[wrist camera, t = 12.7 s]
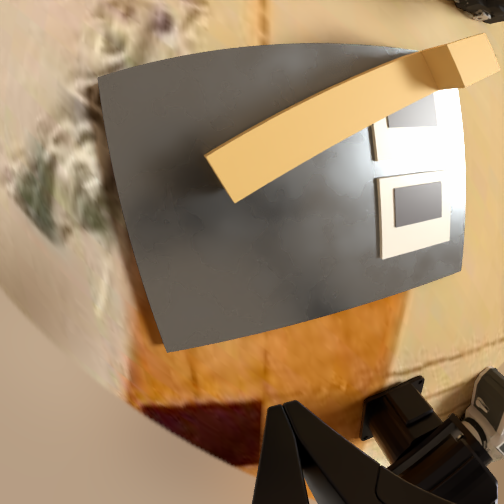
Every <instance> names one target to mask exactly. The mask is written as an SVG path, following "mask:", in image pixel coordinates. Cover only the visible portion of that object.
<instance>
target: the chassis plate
mask: <svg viewBox="0 0 504 504" xmlns="http://www.w3.org/2000/svg"><path fill="white" fill-rule="evenodd" d="M415 52H418V51H415V50H408V49H401V48H392V47H383V46H371V45H357V44H332V43H300V44H275V45H261V46H249V47H239V48H231V49H223V50H215V51H208V52H202V53H196V54H190V55H185V56H180V57H174V58H170V59H165V60H160V61H156V62H152V63H147V64H143V65H139V66H135V67H132V68H128V69H124V70H121V71H117V72H114V73H110V74H107V75H104V76H101V77H98V85H99V92H100V100H101V106H102V113H103V119H104V125H105V131H106V137H107V142H108V147H109V152H110V158H111V162H112V167H113V172H114V177H115V181H116V186H117V190H118V194H119V199H120V203H121V207H122V211H123V215H124V219H125V223H126V226H127V230H128V234H129V238H130V241H131V245H132V248H133V252H134V255H135V259H136V262H137V266H138V269H139V272H140V275H141V279H142V282H143V285H144V288H145V291H146V294H147V297H148V300H149V303H150V306H151V309H152V312H153V315H154V318H155V321H156V324H157V327H158V329H159V332H160V335H161V338H162V340H163V343H164V346H165V348H166V351H167V353H168V352H174V351H179V350H184V349H189V348H194V347H199V346H204V345H209V344H214V343H218V342H223V341H227V340H232V339H236V338H241V337H245V336H249V335H254V334H258V333H262V332H266V331H270V330H274V329H278V328H282V327H286V326H290V325H293V324H297V323H301V322H305V321H308V320H312V319H316V318H319V317H323V316H326V315H330V314H333V313H337V312H340V311H344V310H347V309H350V308H354V307H357V306H360V305H363V304H367V303H370V302H373V301H376V300H379V299H382V298H386V297H389V296H392V295H395V294H398V293H401V292H404V291H407V290H409V289H412V288H415V287H418V286H421V285H424V284H427V283H429V282H432V281H435V280H438V279H440V278H443V277H446V276H449V275H451V274H454V273H456V272H459V271H461V267H462V257H463V245H464V229H465V198H466V185H465V154H464V139H463V127H462V118H461V109H460V101H459V94H458V88H455V89H445V90H442V92H443V98H444V106H445V114H446V122H447V132H448V144H449V155H441V156H429V157H417V158H407V159H397V160H387V161H378V162H377V161H375V155H374V146H373V137H372V129H371V125H370V126H368V127H366V128H364V129H363V130H361V131H359V132H357V133H355V134H353V135H352V136H350V137H348V138H346V139H344V140H342V141H341V142H339V143H337V144H335V145H334V146H332V147H330V148H328V149H326V150H325V151H323V152H321V153H319V154H318V155H316V156H314V157H312V158H311V159H309V160H307V161H305V162H304V163H302V164H300V165H298V166H297V167H295V168H293V169H291V170H290V171H288V172H286V173H285V174H283V175H281V176H280V177H278V178H276V179H274V180H273V181H271V182H269V183H268V184H266V185H264V186H263V187H261V188H259V189H258V190H256V191H254V192H253V193H251V194H250V195H248V196H246V197H245V198H243V199H241V200H240V201H238V202H236V203H234V202H233V200H232V199H231V198H230V196H229V195H228V194H227V192H226V191H225V189H224V187H223V186H222V184H221V182H220V181H219V179H218V178H217V176H216V174H215V173H214V171H213V170H212V168H211V166H210V165H209V163H208V162H207V160H206V158H205V157H204V155H205V154H206V153H208V152H210V151H211V150H213V149H215V148H216V147H218V146H220V145H221V144H223V143H225V142H226V141H228V140H230V139H232V138H233V137H235V136H237V135H238V134H240V133H242V132H244V131H245V130H247V129H249V128H251V127H253V126H254V125H256V124H258V123H260V122H262V121H264V120H265V119H267V118H269V117H271V116H273V115H275V114H277V113H278V112H280V111H282V110H284V109H286V108H288V107H290V106H292V105H294V104H296V103H298V102H300V101H302V100H304V99H306V98H308V97H310V96H312V95H314V94H316V93H318V92H320V91H322V90H325V89H327V88H329V87H331V86H333V85H335V84H337V83H340V82H342V81H344V80H346V79H349V78H351V77H353V76H355V75H358V74H360V73H362V72H365V71H367V70H369V69H372V68H374V67H377V66H379V65H381V64H384V63H386V62H389V61H391V60H394V59H397V58H399V57H402V56H405V55H408V54H412V53H415ZM444 169H449V170H450V187H451V212H450V240H449V241H446V242H443V243H440V244H436V245H433V246H429V247H426V248H422V249H419V250H415V251H412V252H408V253H405V254H401V255H397V256H394V257H390V258H386V259H383V260H382V259H381V258H380V231H379V207H378V191H377V178H381V177H388V176H396V175H403V174H411V173H419V172H427V171H435V170H444Z"/></svg>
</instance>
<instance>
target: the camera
mask: <svg viewBox="0 0 504 504" xmlns="http://www.w3.org/2000/svg"><path fill="white" fill-rule="evenodd" d="M461 422H462V423H463V424H464V425H465V427H466V428H467V429H468V430H469V431H470V432H471V433H472V434H473V435H474V437H475V438H476V439H477V440H478V441H479V442H480V444H481V445H482V446H483V447H484V448H485V450H486V451H487V452H488V453H489V455H490V456H491V457H492V459H493V461H492V462H495V461H498V460H501V459H504V376H503V375H502V374H501V373H499V372H498V371H497V369H496V368H493V367H492V366H488V367H487V368H486V369H484V370H483V371H482V372H481V373H480V374H479V376H478V377H477V379H476V380H475V382H474V388H473V394H472V400H471V405H470V406H469V407H468V408H467V409H466V413H465V419H464V420H463V421H461ZM461 436H462V434H460V435H459V436H458V437H457V438H456V440H458V439H459V438H460V437H461Z"/></svg>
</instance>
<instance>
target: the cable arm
mask: <svg viewBox="0 0 504 504" xmlns="http://www.w3.org/2000/svg"><path fill="white" fill-rule="evenodd" d="M500 70H501V69H500V67H499V64H498V62H497V59H496V56H495V54H494V52H493V49H492V47H491V44H490V42H489V40H488V38H487V35H486V33H482V34H478V35H474V36H471V37H467V38H464V39H461V40H458V41H455V42H452V43H448V44H444V45H440V46H437V47H433V48H429V49H425V50H422V51H418V52H415V53H412V54H408V55H405V56H402V57H399V58H397V59H394V60H391V61H389V62H386V63H384V64H381V65H379V66H377V67H374V68H372V69H369V70H367V71H365V72H362V73H360V74H358V75H355V76H353V77H351V78H349V79H346V80H344V81H342V82H340V83H337V84H335V85H333V86H331V87H329V88H327V89H325V90H322V91H320V92H318V93H316V94H314V95H312V96H310V97H308V98H306V99H304V100H302V101H300V102H298V103H296V104H294V105H292V106H290V107H288V108H286V109H284V110H282V111H280V112H278V113H277V114H275V115H273V116H271V117H269V118H267V119H265V120H264V121H262V122H260V123H258V124H256V125H254V126H253V127H251V128H249V129H247V130H245V131H244V132H242V133H240V134H238V135H237V136H235V137H233V138H232V139H230V140H228V141H226V142H225V143H223V144H221V145H220V146H218V147H216V148H215V149H213V150H211V151H210V152H208V153H206V154H205V155H204V157H205V158H206V160H207V162H208V163H209V165H210V166H211V168H212V170H213V171H214V173H215V174H216V176H217V178H218V179H219V181H220V182H221V184H222V186H223V187H224V189H225V191H226V192H227V194H228V195H229V196H230V198H231V199H232V200H233V202H234V203H236V202H238V201H240V200H241V199H243V198H245V197H246V196H248V195H250V194H251V193H253V192H254V191H256V190H258V189H259V188H261V187H263V186H264V185H266V184H268V183H269V182H271V181H273V180H274V179H276V178H278V177H280V176H281V175H283V174H285V173H286V172H288V171H290V170H291V169H293V168H295V167H297V166H298V165H300V164H302V163H304V162H305V161H307V160H309V159H311V158H312V157H314V156H316V155H318V154H319V153H321V152H323V151H325V150H326V149H328V148H330V147H332V146H334V145H335V144H337V143H339V142H341V141H342V140H344V139H346V138H348V137H350V136H352V135H353V134H355V133H357V132H359V131H361V130H363V129H364V128H366V127H368V126H370V125H372V124H374V123H376V122H378V121H379V120H381V119H383V118H385V117H387V116H389V115H391V114H393V113H395V112H397V111H398V110H400V109H402V108H404V107H406V106H408V105H410V104H412V103H414V102H416V101H418V100H420V99H422V98H424V97H426V96H428V95H430V94H432V93H434V92H436V91H438V90H445V89H455V88H466V87H468V86H470V85H472V84H474V83H476V82H478V81H480V80H482V79H484V78H486V77H488V76H490V75H492V74H494V73H496V72H498V71H500Z"/></svg>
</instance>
